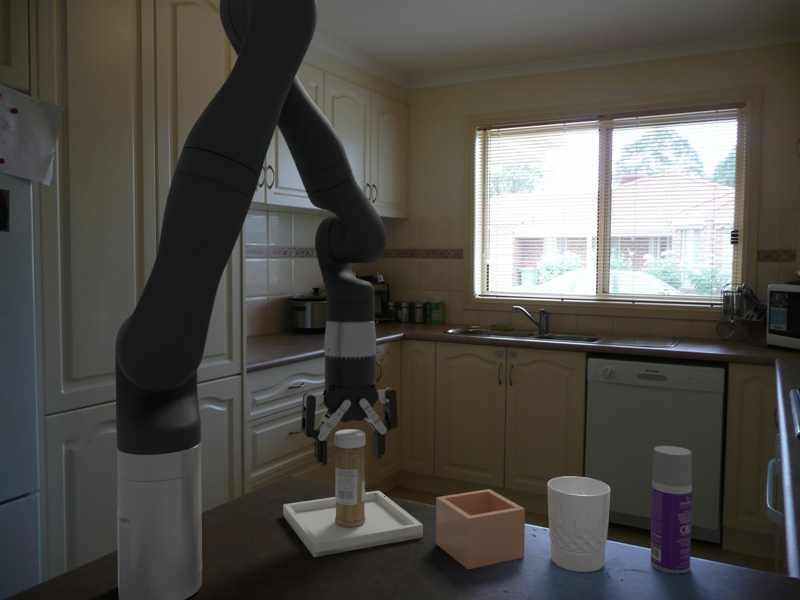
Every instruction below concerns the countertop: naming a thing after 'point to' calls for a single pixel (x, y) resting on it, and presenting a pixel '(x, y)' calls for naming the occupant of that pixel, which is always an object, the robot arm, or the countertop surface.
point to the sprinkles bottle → (350, 477)
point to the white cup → (578, 522)
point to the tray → (329, 538)
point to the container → (671, 509)
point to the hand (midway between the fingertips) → (350, 461)
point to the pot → (480, 528)
